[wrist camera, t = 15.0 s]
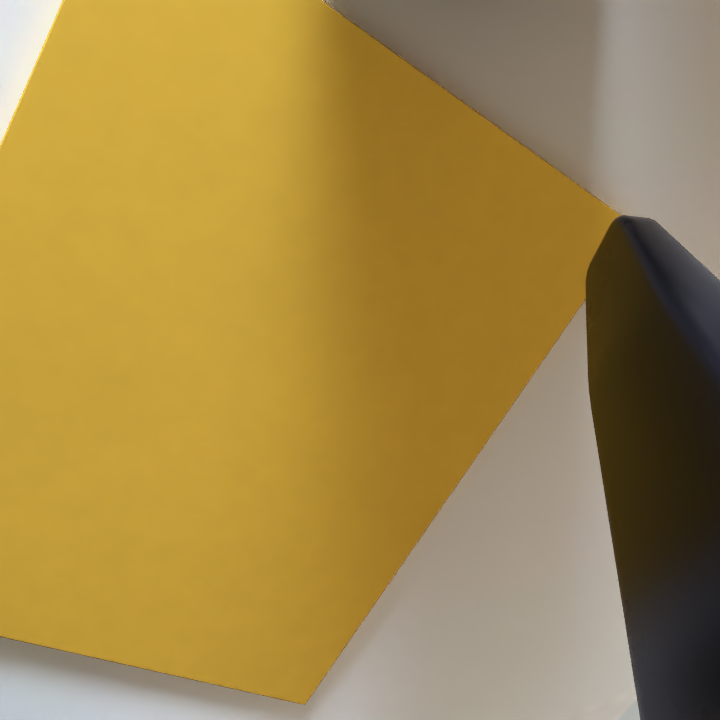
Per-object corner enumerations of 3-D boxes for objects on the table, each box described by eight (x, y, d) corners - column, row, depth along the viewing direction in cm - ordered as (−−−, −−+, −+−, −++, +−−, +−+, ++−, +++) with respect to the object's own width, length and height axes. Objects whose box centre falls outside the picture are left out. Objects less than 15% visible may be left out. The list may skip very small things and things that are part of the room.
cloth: (303, 696, 24) (305, 705, 24) (-187, 583, 18) (-194, 593, 18) (628, 223, 20) (636, 226, 19) (124, -137, 14) (124, -143, 13)
